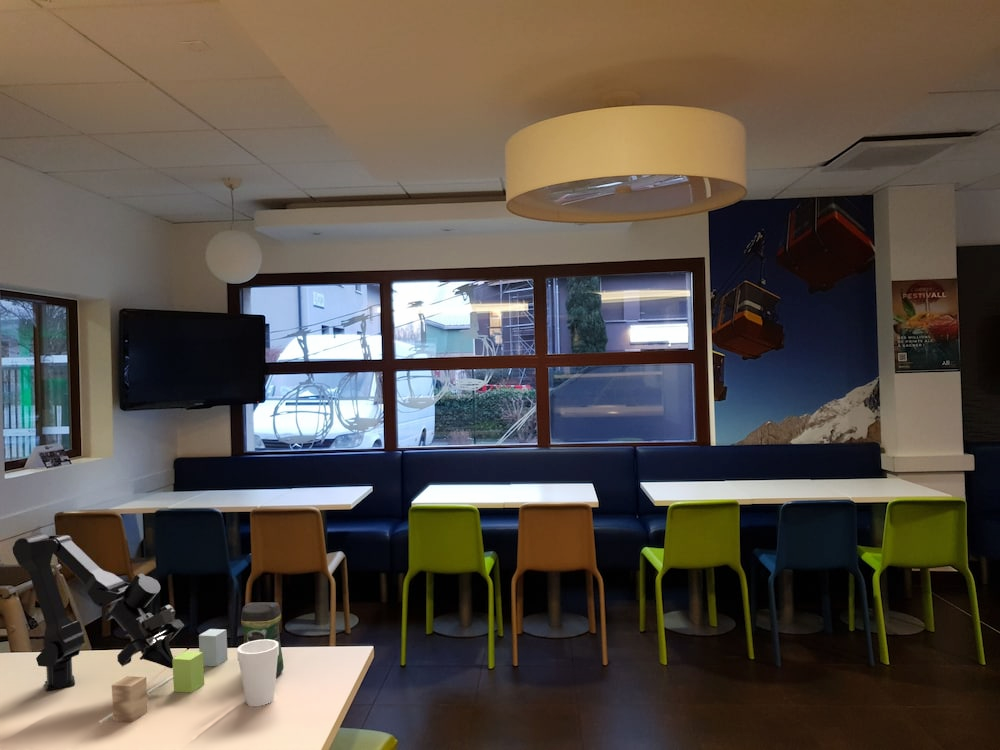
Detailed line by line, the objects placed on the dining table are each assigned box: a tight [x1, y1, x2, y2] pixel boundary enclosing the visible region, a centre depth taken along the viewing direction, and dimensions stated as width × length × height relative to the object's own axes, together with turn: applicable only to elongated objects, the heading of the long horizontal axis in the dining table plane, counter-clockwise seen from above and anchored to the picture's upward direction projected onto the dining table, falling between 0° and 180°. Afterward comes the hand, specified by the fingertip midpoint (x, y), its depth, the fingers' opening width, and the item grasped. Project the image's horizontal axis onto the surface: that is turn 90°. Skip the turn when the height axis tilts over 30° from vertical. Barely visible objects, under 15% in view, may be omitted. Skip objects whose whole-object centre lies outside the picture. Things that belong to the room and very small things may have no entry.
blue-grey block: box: [198, 628, 229, 667], centre depth 205 cm, size 5×5×8 cm
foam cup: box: [236, 639, 279, 707], centre depth 183 cm, size 10×9×13 cm
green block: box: [172, 651, 205, 694], centre depth 189 cm, size 5×5×8 cm
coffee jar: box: [240, 601, 284, 677], centre depth 199 cm, size 10×8×19 cm
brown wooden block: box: [111, 675, 149, 723], centre depth 174 cm, size 5×5×8 cm
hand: (173, 666), depth 190 cm, fingers closed
